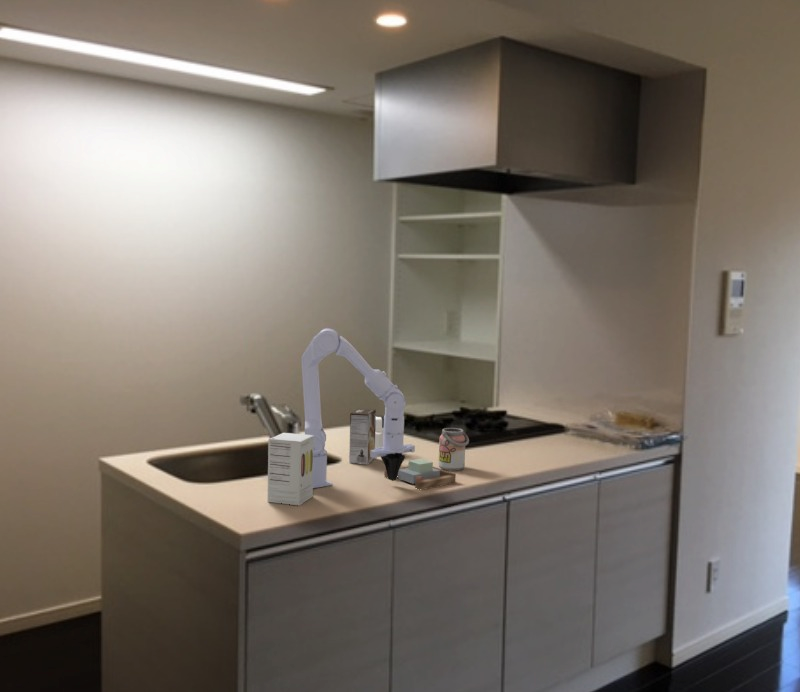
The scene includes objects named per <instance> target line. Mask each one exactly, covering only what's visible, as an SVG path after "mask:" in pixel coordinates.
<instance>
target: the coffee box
mask: <svg viewBox="0 0 800 692" xmlns="http://www.w3.org/2000/svg"><path fill="white" fill-rule="evenodd" d="M376 416H377V410H376V409H374V408H373V409H371V408H370V409H369V408H356V409H355V410H353V411H352V412H350V415H349V453H348V454H349V456H348V459H349V460H348V462H349V464H355V463H361V464H360V465H369V464H370V463H371V462H372V461H374V459H375V458H372V457H370V453H371V450H374V449H375V426H376Z"/></svg>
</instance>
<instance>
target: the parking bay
mask: <svg viewBox="0 0 800 692" xmlns="http://www.w3.org/2000/svg"><path fill="white" fill-rule="evenodd" d="M407 468H408V466H404V467H400V469H399V470H401V469H407ZM433 468H434V469H437V470H440V477H436V478H431V479H426V480H423V477H422V476H416V481H415V484H414V489H415V488H417V489H416V490H418V489H419V490H418V491H421V490H420V489H423V490H426V489H425V488H428V489H431V487H433V488H436V487H437V486H438V487H442V486H446V485H451V484H455V483H456V478H457V476H456V473H453V472H452V471H449V470H443V469H441V468H440V467H439V468H438V467H435V466H433ZM384 469H385V470H384V478H385V477H388V476H387V471H386V468H384ZM397 476H398V475H397Z"/></svg>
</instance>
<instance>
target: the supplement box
mask: <svg viewBox="0 0 800 692" xmlns="http://www.w3.org/2000/svg"><path fill="white" fill-rule="evenodd" d="M267 442H268V444H267V448H268V449H267V456H268V457H267V458H268V459H267V462H268V463H267V503H274V504H281V503H282V505H289V504H290V505H292V506H297V505H298V506H299V507H300V506H301V505H302V504H304V503H305V502H308V500H310V499H311V498H312V497H313V493H314V492H313V490H314V488H313V451H314V436H313V435H305V433H303V434H302V433H292V432H282V433H280V434H278V435H275V436H273V437H270V438H269V439H268V441H267ZM290 505H289V506H290Z"/></svg>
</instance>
